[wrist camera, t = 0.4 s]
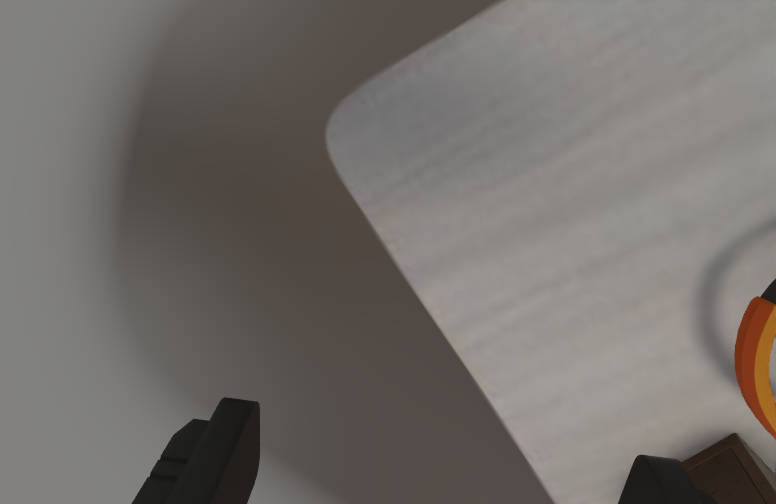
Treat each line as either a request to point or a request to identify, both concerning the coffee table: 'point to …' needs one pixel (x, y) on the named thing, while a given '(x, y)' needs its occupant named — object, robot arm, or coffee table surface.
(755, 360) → the headphones
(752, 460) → the cabinet
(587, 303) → the coffee table surface
